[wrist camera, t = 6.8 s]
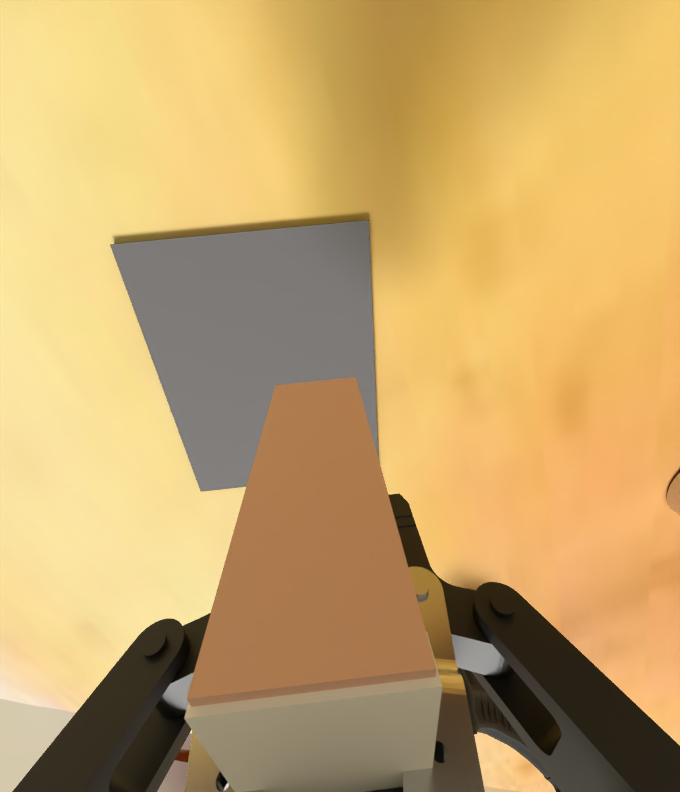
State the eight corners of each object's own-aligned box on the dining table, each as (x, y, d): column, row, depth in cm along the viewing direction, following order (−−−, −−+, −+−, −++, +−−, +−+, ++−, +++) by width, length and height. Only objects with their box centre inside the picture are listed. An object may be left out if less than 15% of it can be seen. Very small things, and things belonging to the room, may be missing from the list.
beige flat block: (357, 377, 12) (443, 678, 4) (367, 542, 16) (421, 862, 8) (273, 385, 12) (178, 711, 4) (306, 549, 16) (294, 878, 8)
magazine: (425, 704, 31) (593, 894, 34) (454, 691, 30) (623, 887, 33) (410, 571, 48) (524, 707, 51) (428, 560, 47) (543, 699, 50)
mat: (368, 220, 20) (368, 220, 20) (378, 469, 29) (378, 472, 29) (113, 244, 20) (110, 244, 20) (202, 488, 29) (200, 491, 29)
